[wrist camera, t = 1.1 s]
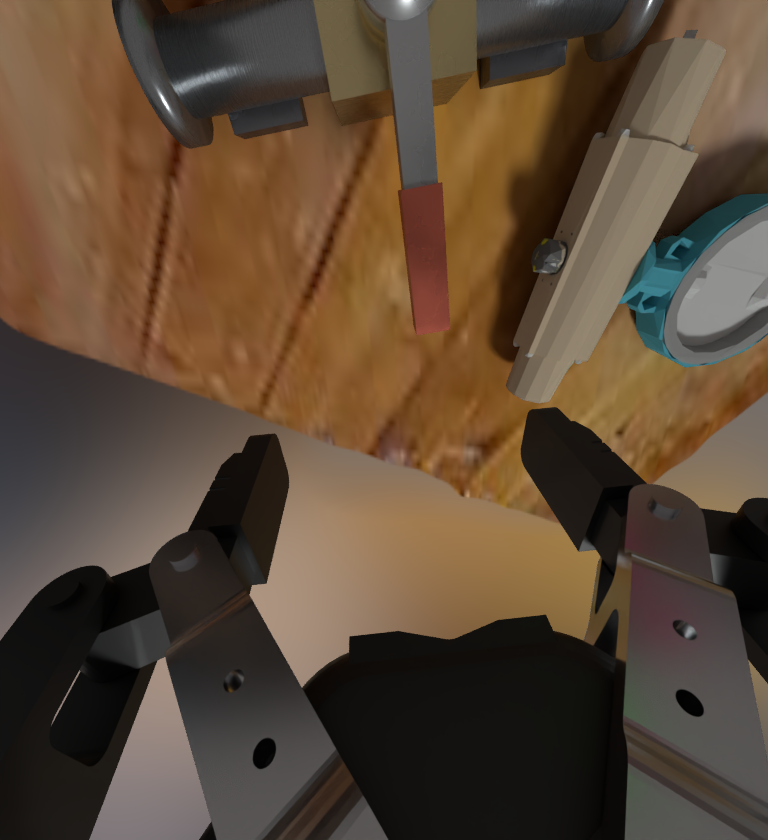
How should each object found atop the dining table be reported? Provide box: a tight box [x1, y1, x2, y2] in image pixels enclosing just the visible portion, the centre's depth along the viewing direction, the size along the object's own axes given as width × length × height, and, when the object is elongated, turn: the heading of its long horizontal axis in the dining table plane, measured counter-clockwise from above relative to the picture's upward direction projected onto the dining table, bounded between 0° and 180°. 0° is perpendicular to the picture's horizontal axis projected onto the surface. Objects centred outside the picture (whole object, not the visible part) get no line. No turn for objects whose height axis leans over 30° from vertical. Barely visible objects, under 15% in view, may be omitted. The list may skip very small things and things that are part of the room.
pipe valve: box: [112, 0, 664, 149], centre depth 19 cm, size 28×7×10 cm, turn 99°
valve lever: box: [358, 0, 450, 335], centre depth 18 cm, size 18×4×2 cm, turn 9°
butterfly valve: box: [506, 30, 768, 403], centre depth 31 cm, size 27×7×30 cm
